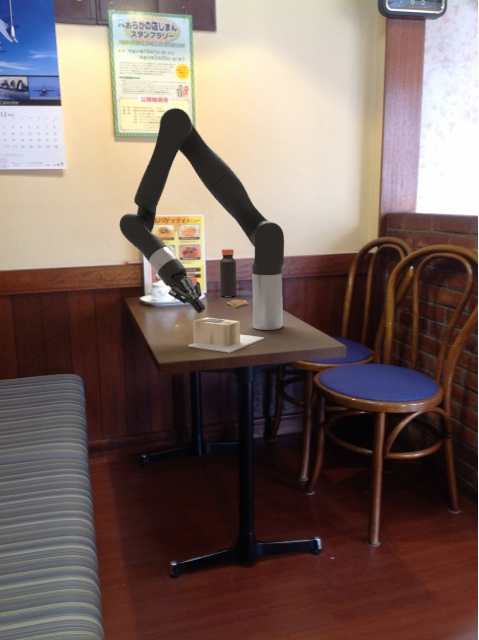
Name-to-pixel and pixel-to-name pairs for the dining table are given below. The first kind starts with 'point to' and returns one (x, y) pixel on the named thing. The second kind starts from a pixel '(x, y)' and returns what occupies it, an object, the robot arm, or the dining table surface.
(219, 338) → the wooden block
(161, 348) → the dining table surface
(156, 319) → the dining table surface
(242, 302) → the shard
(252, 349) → the dining table surface
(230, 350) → the mat
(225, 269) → the bottle
